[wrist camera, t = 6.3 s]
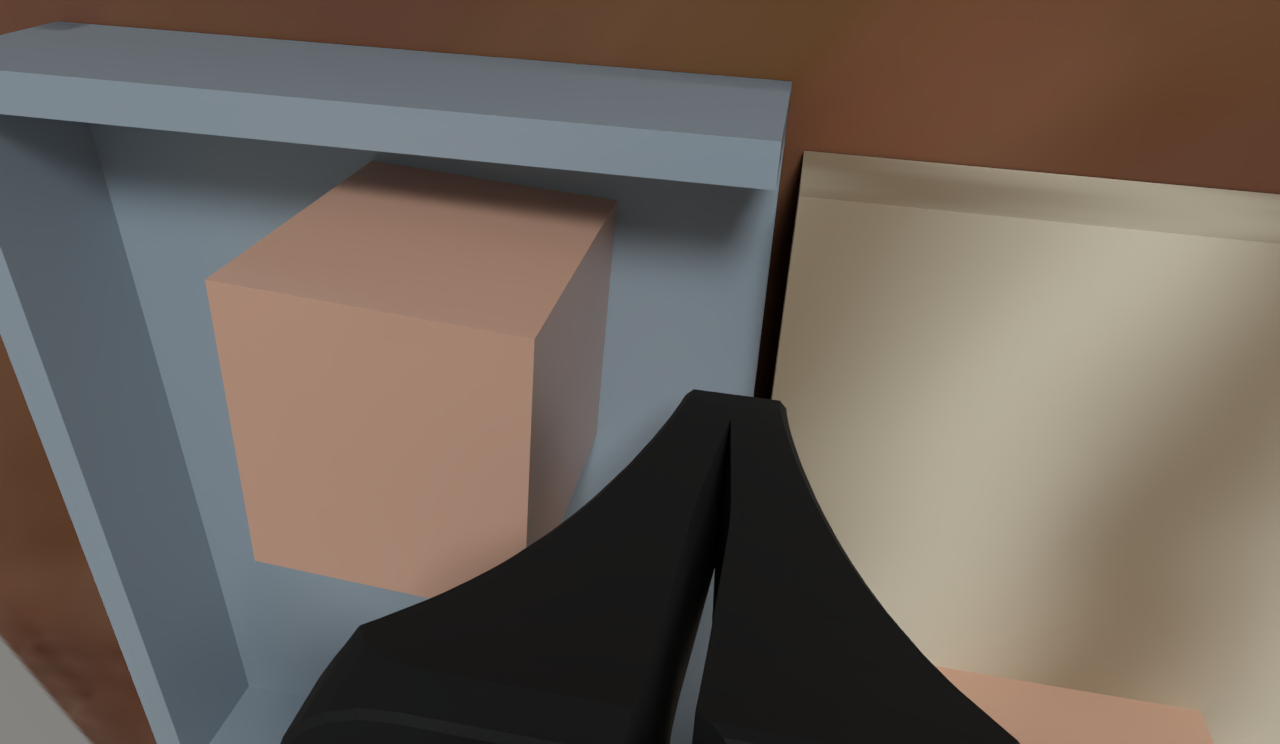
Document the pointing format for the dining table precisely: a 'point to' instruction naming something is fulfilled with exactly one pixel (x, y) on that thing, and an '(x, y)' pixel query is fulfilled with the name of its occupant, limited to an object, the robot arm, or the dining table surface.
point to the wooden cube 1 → (414, 373)
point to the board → (1049, 422)
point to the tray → (260, 203)
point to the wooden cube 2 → (1077, 714)
